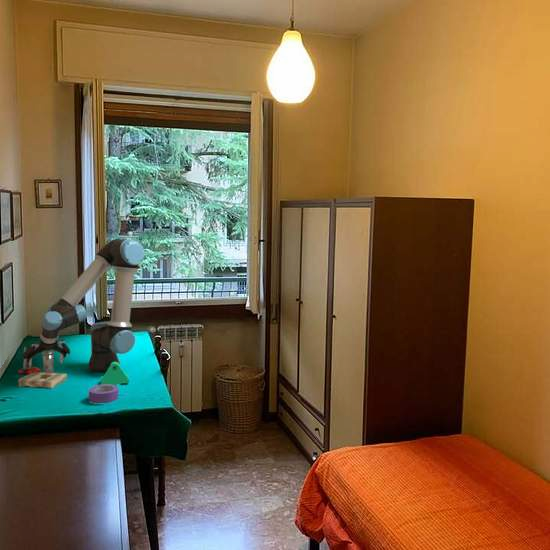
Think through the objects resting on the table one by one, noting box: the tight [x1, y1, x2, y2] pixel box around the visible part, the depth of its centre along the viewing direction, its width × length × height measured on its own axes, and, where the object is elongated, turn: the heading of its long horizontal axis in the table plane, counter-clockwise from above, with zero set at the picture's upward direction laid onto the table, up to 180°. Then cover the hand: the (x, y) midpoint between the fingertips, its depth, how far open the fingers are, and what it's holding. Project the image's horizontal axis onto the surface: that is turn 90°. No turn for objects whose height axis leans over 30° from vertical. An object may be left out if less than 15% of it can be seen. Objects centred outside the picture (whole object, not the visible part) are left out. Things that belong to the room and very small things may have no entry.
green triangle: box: [100, 362, 130, 385], centre depth 246 cm, size 12×8×10 cm, turn 105°
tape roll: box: [88, 384, 120, 404], centre depth 224 cm, size 12×12×5 cm
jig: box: [18, 371, 68, 389], centre depth 245 cm, size 16×12×3 cm
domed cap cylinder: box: [41, 350, 55, 373], centre depth 257 cm, size 5×5×11 cm
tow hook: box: [17, 346, 41, 375], centre depth 262 cm, size 8×13×9 cm
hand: (45, 362), depth 255 cm, fingers open, 13 cm apart
